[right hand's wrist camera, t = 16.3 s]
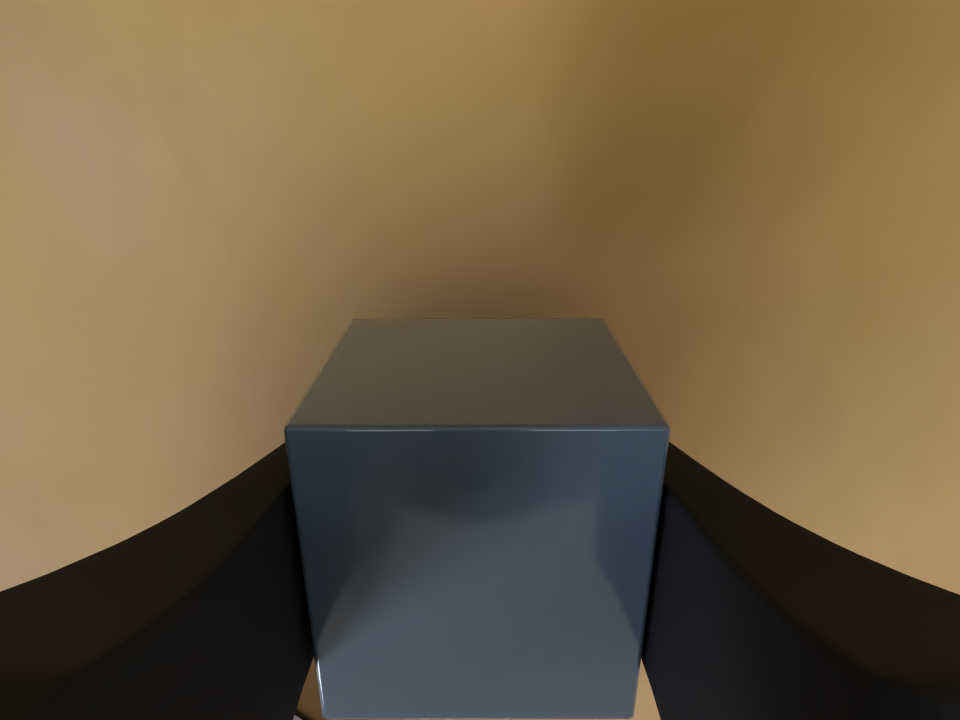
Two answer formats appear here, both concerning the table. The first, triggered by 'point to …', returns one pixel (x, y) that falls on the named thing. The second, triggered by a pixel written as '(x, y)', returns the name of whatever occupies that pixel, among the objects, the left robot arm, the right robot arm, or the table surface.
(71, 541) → the table surface
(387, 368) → the block
